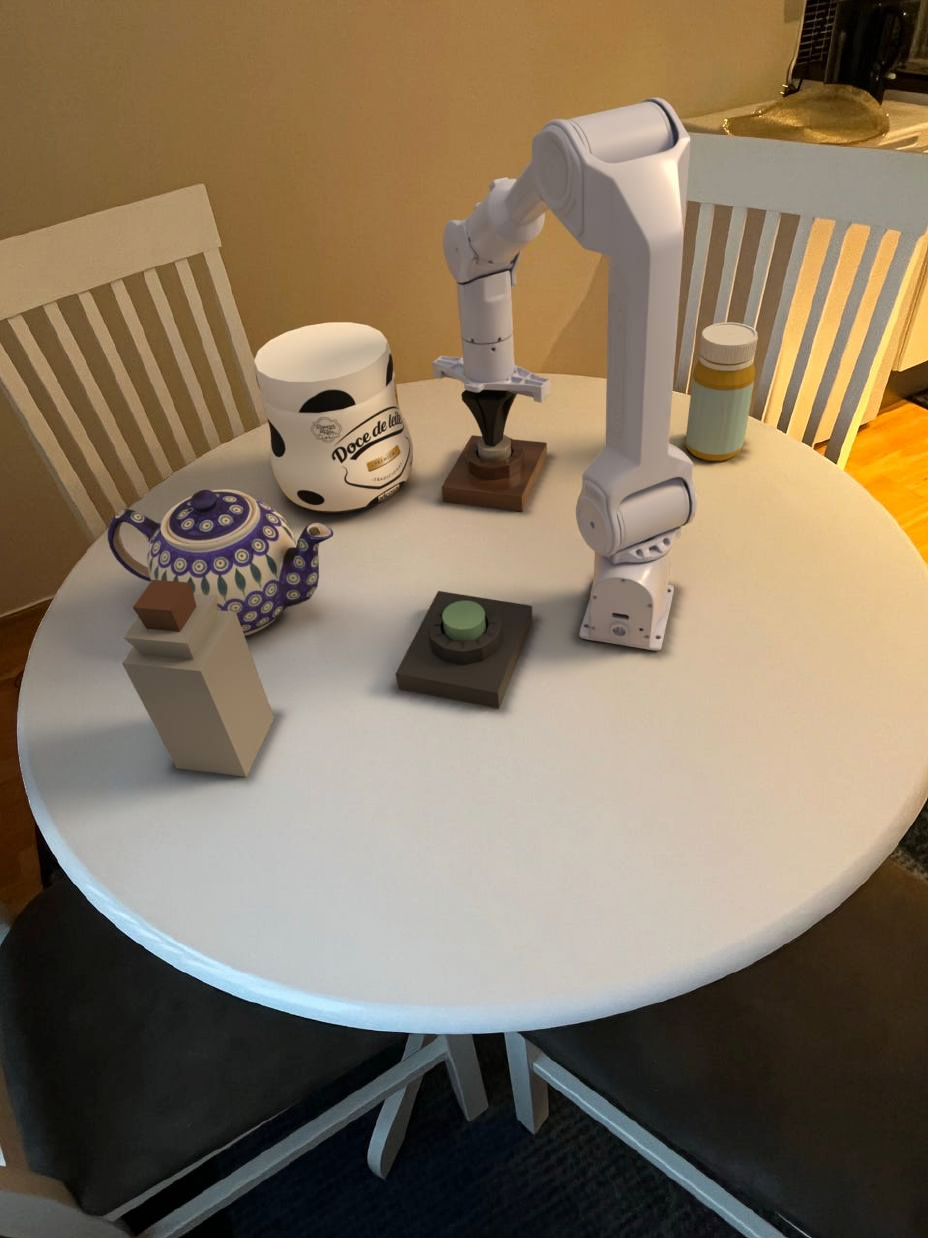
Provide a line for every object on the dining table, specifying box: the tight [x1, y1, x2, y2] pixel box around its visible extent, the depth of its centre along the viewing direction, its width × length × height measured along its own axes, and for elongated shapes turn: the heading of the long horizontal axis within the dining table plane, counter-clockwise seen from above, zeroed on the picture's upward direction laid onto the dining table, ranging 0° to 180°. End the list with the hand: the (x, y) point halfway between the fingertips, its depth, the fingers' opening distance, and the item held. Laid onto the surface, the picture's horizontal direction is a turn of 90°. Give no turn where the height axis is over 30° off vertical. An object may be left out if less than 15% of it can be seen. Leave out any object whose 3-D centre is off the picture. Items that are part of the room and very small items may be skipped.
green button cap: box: [442, 601, 486, 642], centre depth 79 cm, size 4×4×2 cm
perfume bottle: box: [121, 580, 275, 778], centre depth 70 cm, size 7×7×18 cm
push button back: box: [440, 435, 548, 512], centre depth 102 cm, size 12×10×4 cm
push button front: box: [395, 590, 534, 709], centre depth 80 cm, size 12×10×4 cm
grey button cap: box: [478, 434, 511, 462], centre depth 101 cm, size 4×4×2 cm
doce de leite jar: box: [253, 321, 414, 514], centre depth 99 cm, size 17×17×18 cm
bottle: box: [685, 321, 759, 462], centre depth 100 cm, size 7×7×15 cm
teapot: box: [107, 488, 334, 636], centre depth 85 cm, size 25×15×15 cm, turn 76°
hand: (493, 441), depth 100 cm, fingers closed
